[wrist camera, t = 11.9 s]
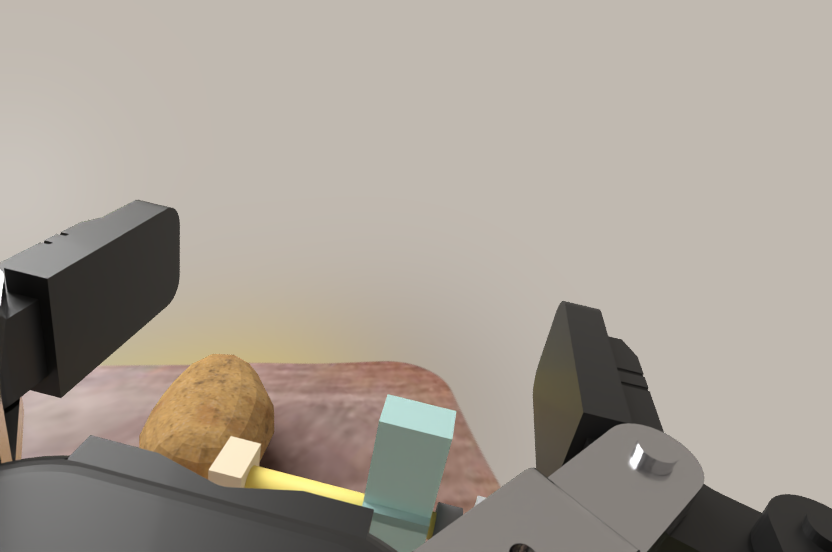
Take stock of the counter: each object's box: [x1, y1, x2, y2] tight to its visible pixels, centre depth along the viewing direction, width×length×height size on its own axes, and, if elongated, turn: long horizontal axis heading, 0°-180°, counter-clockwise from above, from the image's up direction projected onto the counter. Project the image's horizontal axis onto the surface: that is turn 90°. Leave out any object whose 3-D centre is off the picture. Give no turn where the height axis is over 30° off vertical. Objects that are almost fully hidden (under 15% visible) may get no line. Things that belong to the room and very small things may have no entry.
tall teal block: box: [362, 394, 456, 552], centre depth 34 cm, size 4×4×10 cm
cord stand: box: [208, 436, 486, 540], centre depth 37 cm, size 18×6×10 cm, turn 81°
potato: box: [139, 354, 274, 479], centre depth 46 cm, size 10×14×8 cm
